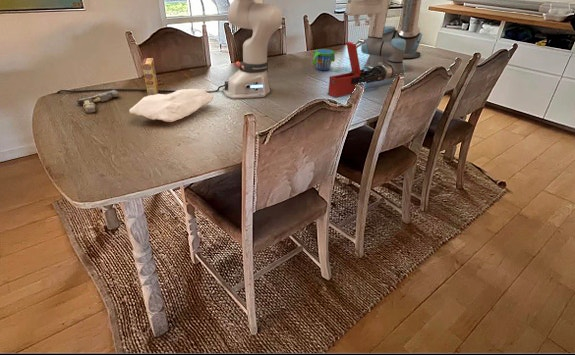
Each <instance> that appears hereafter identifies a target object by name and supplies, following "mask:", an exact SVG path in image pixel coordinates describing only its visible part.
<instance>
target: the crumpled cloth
mask: <svg viewBox="0 0 575 355" xmlns="http://www.w3.org/2000/svg"><path fill="white" fill-rule="evenodd" d="M174 91H175V92H170V93H167V94H163V93H158V94H156V95H150V96H148V95H146V96H144V97H142V98H141V99H140V100H139V101H138V102H137V103H136V104H134V105H133V106H132V107H131V108H129V114H130V115H135V116H140V117H145V118H146V119H149V120H152V121H155V120H158V121H163V122H166V123H174V122H176V121H178V120H181V119H183V118H185V117H188V116H190V115H192V114H193V113H195V112H196V111H197V110H199V109H200V108H202V107H204V106H206V105H207V104H210V102H211V101H212V100H213V99H214V98H213V97H214V96H213V94H212V93H208V92H206V90H203V89H201V88H187V89H186V88H185V89H184V88H183V89H177V90H174Z"/></svg>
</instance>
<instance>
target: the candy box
mask: <svg viewBox="0 0 575 355" xmlns="http://www.w3.org/2000/svg"><path fill="white" fill-rule="evenodd" d="M141 66H142V73H143V78H144V82H145V87H146V89H147V91H146V92H147V96H150V95H156V94H159V90H160V89H159V84H158V79H157V73H156V66H155V62H154V58H153V57H151V58H150V57H149V58H146V57H145V58H143V60H142V63H141Z"/></svg>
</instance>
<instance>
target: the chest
mask: <svg viewBox="0 0 575 355" xmlns="http://www.w3.org/2000/svg"><path fill="white" fill-rule="evenodd" d="M350 72H351V71H350ZM350 72H346V73H342V74H341V73H340V74H336V75H331V76H329V81H328V83H329V84H328V92H327V95H329V96H330V97H333V98H339V97H345V96H348V95H352V94H351V93H352V92H353V91H354V89H355V85H356V84H358V83H356V84H351V81H352V78H356V77H360V75H359V74H356V73H353V72H351V73H350Z"/></svg>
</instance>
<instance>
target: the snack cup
mask: <svg viewBox="0 0 575 355" xmlns="http://www.w3.org/2000/svg"><path fill="white" fill-rule="evenodd" d="M335 56H336V54H335V51H334V50H332V49H327V48H318V49H316V50H315V52H314V55H313V58H312V64H313V65H314V66H316V69H317V70H320V71H328V70H330V68H331V65H332V62H335V60H336V57H335Z"/></svg>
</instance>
